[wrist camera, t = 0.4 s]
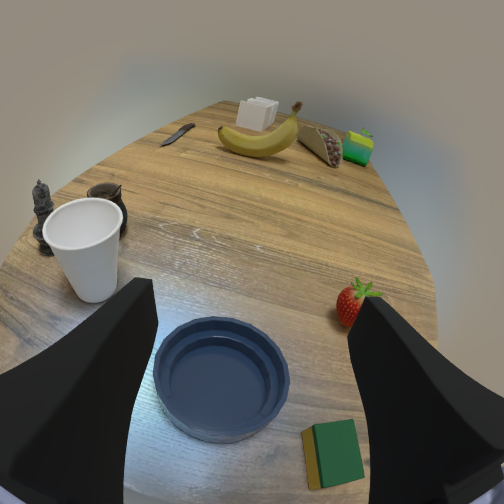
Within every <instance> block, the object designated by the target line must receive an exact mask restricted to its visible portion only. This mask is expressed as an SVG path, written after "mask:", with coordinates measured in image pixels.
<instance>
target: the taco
mask: <svg viewBox="0 0 504 504" xmlns="http://www.w3.org/2000/svg"><path fill="white" fill-rule="evenodd" d="M297 139H298V140H299V141H300V142H302V143H303V144H304V145H305V146H307V147H308V148H309V149H311V150H312V151H313V152H314V153H316V154H317V155H318V156H319V157H321V158H322V159H323V160H324V161H325V162H327V163H328V164H329V165H330V166H331V167H338V166H339V165H340V164H341V161H342V153H343V148H342V144H341V140H340V138H339V137H338V136H337V134H336V133H335V132H334V131H332V130H327V129H322V130H320V129H318V130H317V127H311V126H310V125H305V126H304V127H302V128H301V129H300V130H299V132H298V134H297Z"/></svg>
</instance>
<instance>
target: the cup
mask: <svg viewBox="0 0 504 504" xmlns="http://www.w3.org/2000/svg"><path fill="white" fill-rule="evenodd" d="M122 220H123V215H122V211H121V209H120V208H119V207H118V206H117V205H116V204H115V203H113V202H111V201H109V200H106V199H102V198H83V199H77V200H74V201H71V202H68V203H66V204H64V205H62V206H60V207H59V208H57V209H56V210H54V211H53V212H52V213H51V214H50V215H49V216H48V218H47V219H46V220H45V223H44V225H43V230H42V232H43V237H44V239H45V241H46V242H47V243H48V244H49V246H50V248H51V249H52V251H53V253H54V255H55V257H56V259H57V261H58V263H59V264H60V266H61V268H62V270H63V272H64V273H65V275H66V277H67V279H68V280H69V282H70V284H71V286H72V287H73V289H74V290H75V292H76V294H77V295H78V297H79V298H80V299H82V300H83V301H86V302H89V303H97V302H101V301H104V300H106V299H108V298H109V297H110V296H111V295H112V294H113V293H114V291H115V290H116V286H117V263H118V246H119V234H120V226H121V224H122Z"/></svg>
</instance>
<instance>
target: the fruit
mask: <svg viewBox="0 0 504 504" xmlns="http://www.w3.org/2000/svg"><path fill="white" fill-rule="evenodd" d="M355 278H356V283H357V285H354V284H352V283H351V284H352V286H349V287H347V288H345V289H344V290H343V291H342V292H341V293H340V294H339V296H338V299H337V303H336V307H337V314H338V318H339V320H340V322H341V324H342V325H344V326H346V327H351V326H352V325H353V323H354V321H355V319H356V317H357V314H358V312H359V310H360V308H361V305H362V303H363V301H364V298H365V296H367V297H376V296H380V295H382V294H383V293H379V292H373V291H372V290H370V289H371V286H372V282H370V283H368V284H367V285H366V287H364V286H363V285H362V284H361V282H360V281H359V279H358V278H357V277H355Z"/></svg>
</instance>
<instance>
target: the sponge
mask: <svg viewBox="0 0 504 504" xmlns="http://www.w3.org/2000/svg"><path fill="white" fill-rule="evenodd" d="M302 438H303V445H304V453H305V460H306V467H307V475H308V483H309V489H320V488H327V487H331V486H336V485H340V484H344V483H347V482H351V481H355V480H358V479H362V478H364V477H365V476H364V470H363V465H362V459H361V454H360V449H359V444H358V439H357V434H356V429H355V425H354V420H353V419H349V420H343V421H336V422H329V423H322V424H314V425H313V426H311V427H310V428H308V429H306V430H305V431H303V432H302Z"/></svg>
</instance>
